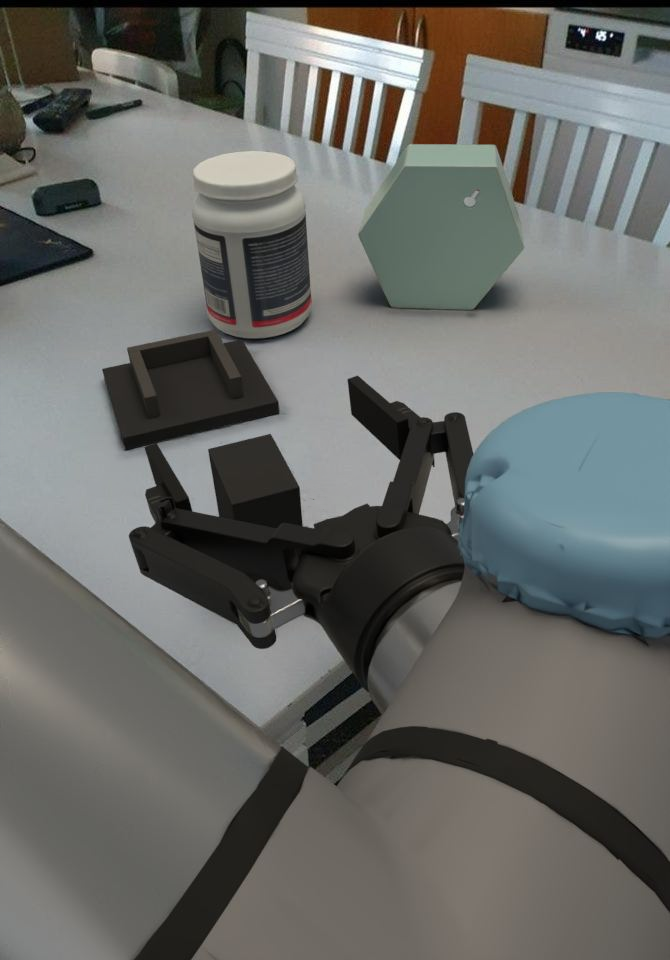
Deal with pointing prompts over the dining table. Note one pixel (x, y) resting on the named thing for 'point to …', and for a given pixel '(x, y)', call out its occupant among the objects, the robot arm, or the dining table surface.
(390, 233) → the green hexagonal block
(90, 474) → the dining table surface
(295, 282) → the supplement tub
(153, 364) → the base pad
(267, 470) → the tall dark brick
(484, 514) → the robot arm
